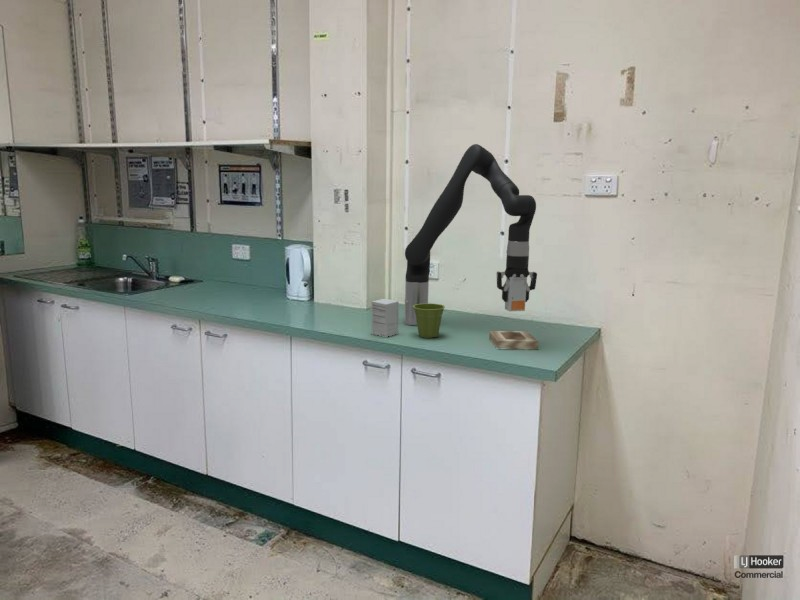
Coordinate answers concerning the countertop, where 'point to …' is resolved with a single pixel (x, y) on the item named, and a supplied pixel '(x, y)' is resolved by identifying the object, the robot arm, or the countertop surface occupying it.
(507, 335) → the birch plinth
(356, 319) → the countertop surface
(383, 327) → the supplement box
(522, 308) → the skincare box
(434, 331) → the plant pot
